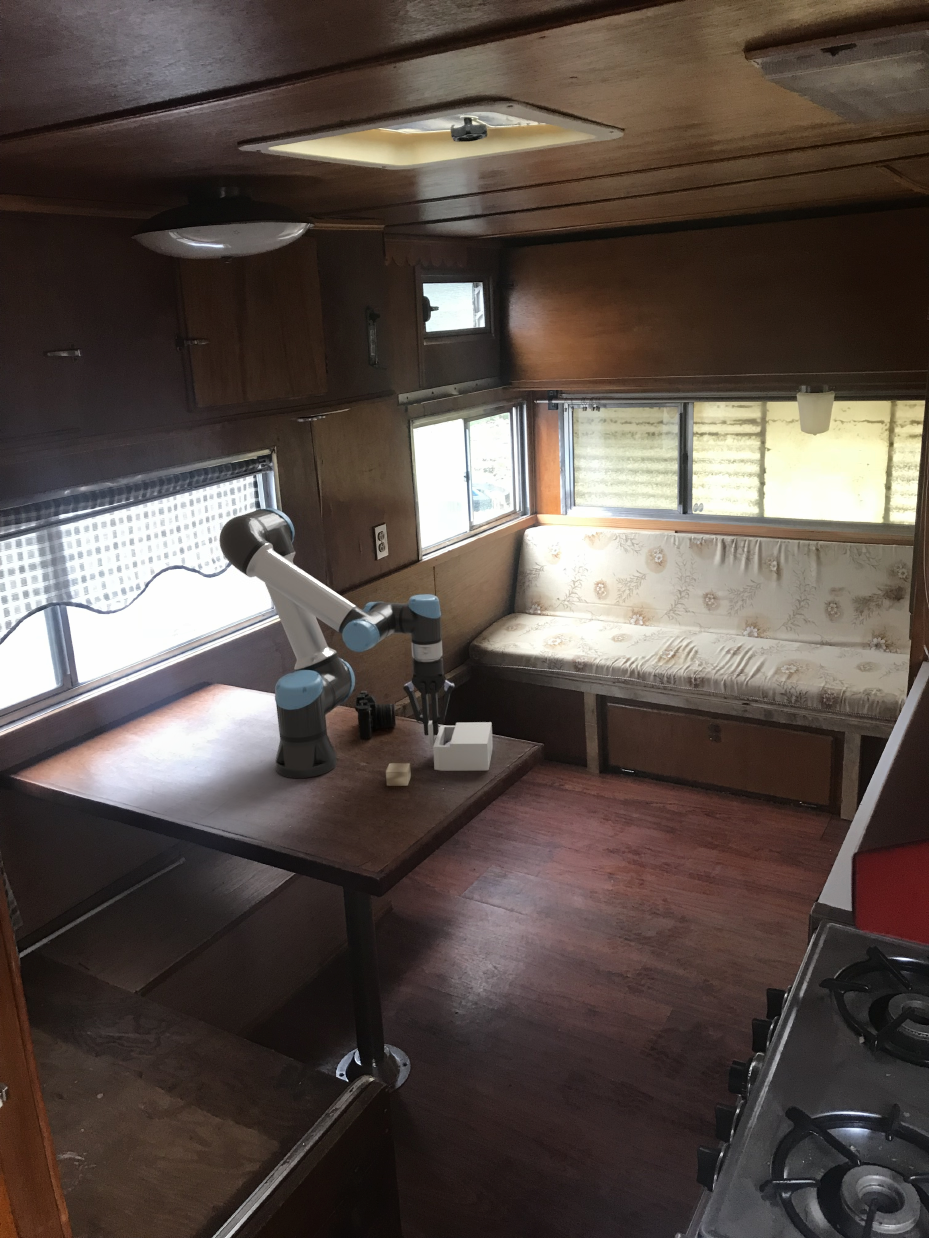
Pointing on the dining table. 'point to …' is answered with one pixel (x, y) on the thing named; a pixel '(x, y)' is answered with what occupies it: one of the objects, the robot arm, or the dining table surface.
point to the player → (466, 747)
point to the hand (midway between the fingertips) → (432, 746)
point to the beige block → (398, 774)
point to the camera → (372, 715)
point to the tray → (438, 741)
